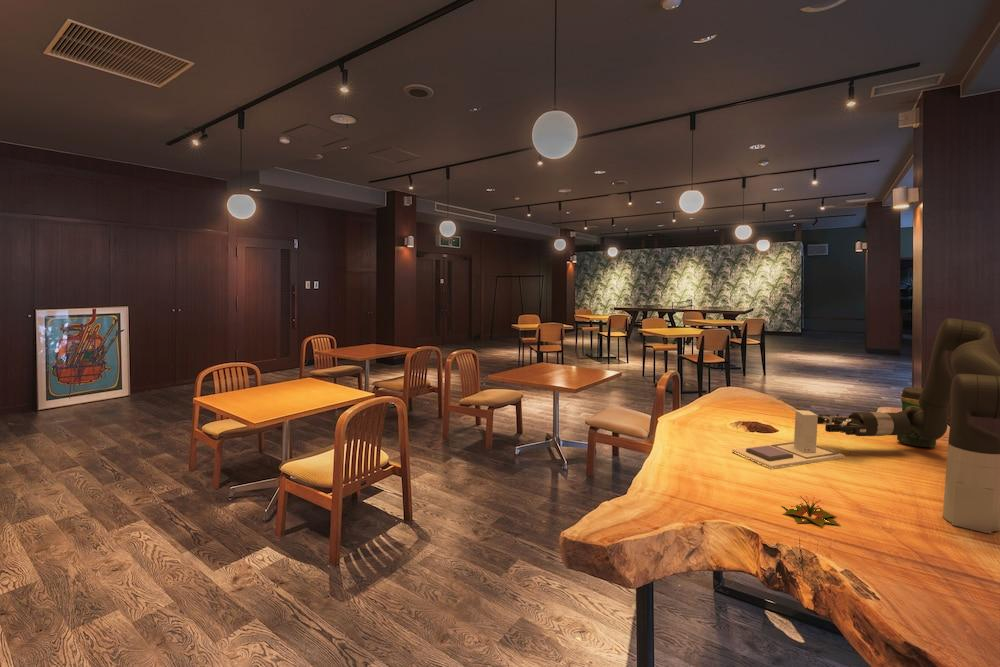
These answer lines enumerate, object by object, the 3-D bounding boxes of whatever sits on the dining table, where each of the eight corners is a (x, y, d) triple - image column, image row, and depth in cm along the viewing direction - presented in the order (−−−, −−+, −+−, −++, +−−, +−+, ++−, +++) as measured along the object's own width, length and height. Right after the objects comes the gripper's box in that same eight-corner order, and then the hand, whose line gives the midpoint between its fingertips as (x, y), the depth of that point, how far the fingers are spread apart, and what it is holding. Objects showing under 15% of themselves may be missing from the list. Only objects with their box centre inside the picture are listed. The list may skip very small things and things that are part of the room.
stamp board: (800, 443, 164) (800, 436, 164) (843, 458, 149) (843, 451, 149) (732, 452, 155) (732, 445, 155) (771, 469, 141) (771, 461, 141)
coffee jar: (938, 446, 159) (945, 390, 157) (929, 449, 154) (936, 391, 153) (902, 439, 167) (908, 385, 166) (892, 441, 163) (898, 386, 162)
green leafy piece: (792, 529, 108) (793, 509, 107) (771, 505, 120) (772, 487, 119) (852, 532, 106) (853, 512, 106) (824, 507, 118) (825, 489, 117)
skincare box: (816, 453, 151) (818, 415, 150) (801, 452, 152) (803, 414, 151) (807, 446, 157) (809, 410, 156) (793, 446, 158) (794, 409, 157)
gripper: (855, 406, 160) (805, 406, 160) (888, 418, 145) (832, 418, 146) (854, 428, 160) (803, 429, 161) (886, 443, 146) (831, 443, 147)
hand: (817, 424), depth 153 cm, fingers open, 8 cm apart
